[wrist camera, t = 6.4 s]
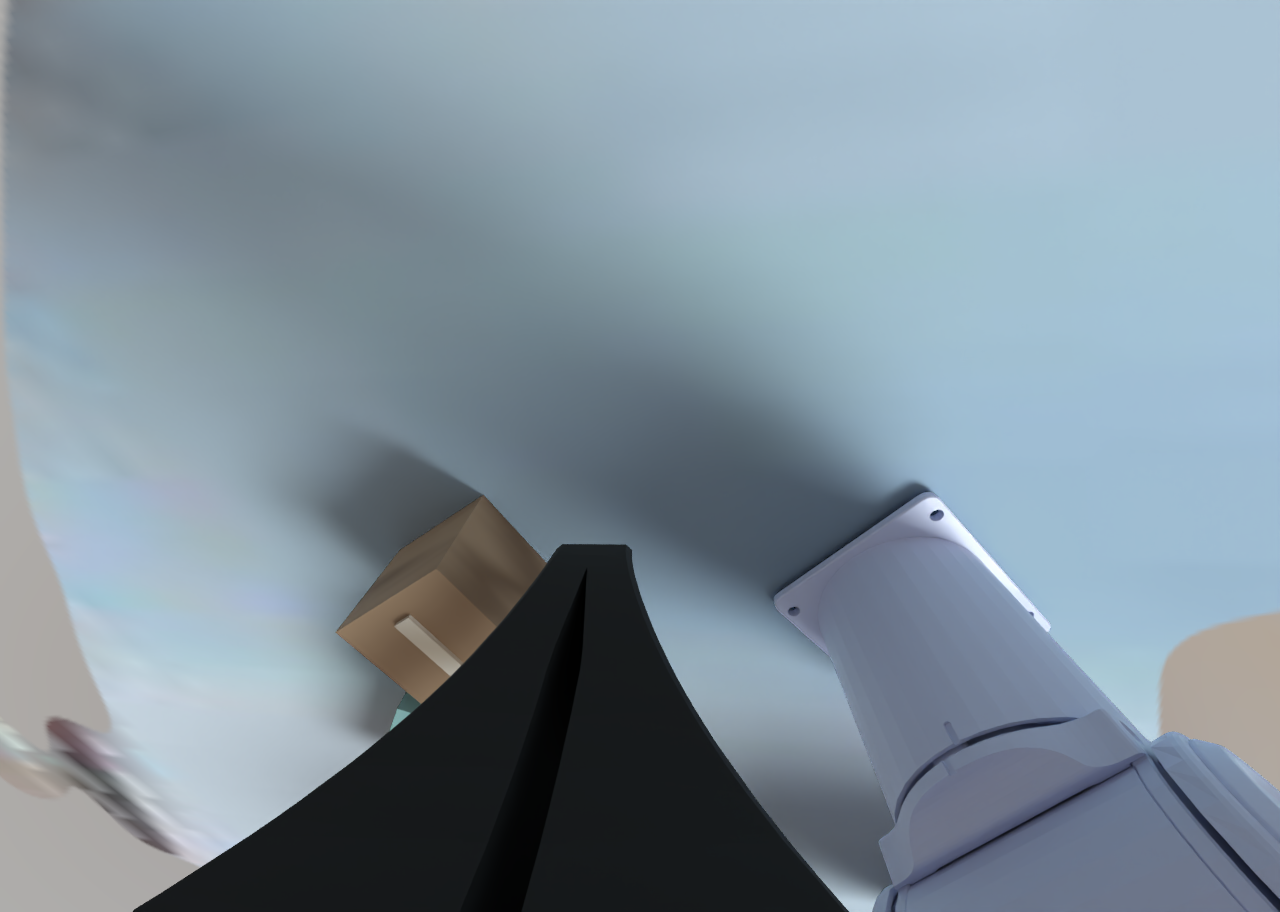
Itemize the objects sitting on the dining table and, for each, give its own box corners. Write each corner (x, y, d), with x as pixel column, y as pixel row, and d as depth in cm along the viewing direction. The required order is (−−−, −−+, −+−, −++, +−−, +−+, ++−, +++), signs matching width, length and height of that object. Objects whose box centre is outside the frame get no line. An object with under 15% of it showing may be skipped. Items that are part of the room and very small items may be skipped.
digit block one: (559, 575, 23) (533, 667, 18) (477, 622, 24) (433, 719, 20) (484, 493, 21) (434, 571, 17) (400, 549, 23) (333, 635, 18)
